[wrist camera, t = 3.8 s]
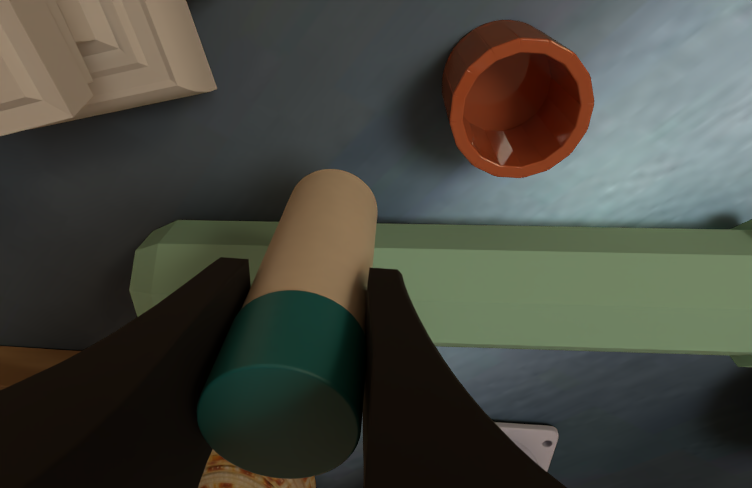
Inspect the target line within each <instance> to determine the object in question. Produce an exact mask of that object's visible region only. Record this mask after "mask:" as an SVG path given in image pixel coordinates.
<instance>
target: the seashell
mask: <svg viewBox="0 0 752 488" xmlns="http://www.w3.org/2000/svg"><path fill="white" fill-rule="evenodd" d="M198 488H316V482H315V476H312V477H307V478H298V479H281V478H272V477H267V476H262V475H258V474H255V473H251V472H249V471H246V470H243V469H241V468H239V467H237V466H235V465H233V464H232V463H230V462H228V461H227V460H225V459H224V458H222V457H221V456H220V455H218V454H217V453H216V452H215V451H214V450H213V449H212V452H211V454H210V456H209V459H208V461H207V464H206V467H205V469H204V472H203V475H202V477H201V480H200V483H199V486H198Z"/></svg>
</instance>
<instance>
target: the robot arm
mask: <svg viewBox="0 0 752 488" xmlns="http://www.w3.org/2000/svg"><path fill="white" fill-rule="evenodd" d="M250 288H251V284H250V271H249V259H240V258H226V257H220V258H219V259H217V260H216V261H214V262H213V263H212V264H210V265H209V266H208V267H206V268H205V269H204V270H202V271H201V272H200V273H198V274H197V275H196V276H194V277H193V278H192V279H190V280H189V281H188V282H186V283H185V284H184V285H182V286H181V287H180V288H178V289H177V290H176V291H174V292H173V293H172V294H170V295H169V296H167V297H166V298H165V299H163V300H162V301H161V302H159V303H158V304H156V305H155V306H154V307H152V308H150V309H149V310H147V311H146V312H144V313H143V314H141V315H140V316H138V317H137V318H135V319H134V320H132V321H131V322H129V323H128V324H126V325H125V326H123V327H122V328H120V329H119V330H117V331H116V332H114V333H112V334H111V335H109V336H107V337H106V338H104V339H102V340H101V341H99V342H97V343H95V344H94V345H92V346H90V347H88V348H86V349H85V350H83V351H81V352H79V353H77V354H75V355H73V356H72V357H70V358H68V359H66V360H64V361H62V362H60V363H58V364H56V365H54V366H52V367H50V368H48V369H45V370H43V371H41V372H39V373H37V374H35V375H33V376H30V377H28V378H26V379H24V380H22V381H20V382H18V383H15V384H13V385H11V386H9V387H7V388H5V389H2V390H0V488H198V486H199V483H200V480H201V477H202V475H203V472H204V469H205V467H206V464H207V461H208V459H209V456H210V454H211V452H212V448H211V447H210V446H209V444H208V443H207V442H206V440H205V439H204V437H203V436H202V434H201V431H200V429H199V426H198V422H197V414H196V410H197V403H198V400H199V397H200V394H201V392H202V390H203V388H204V385H205V383H206V381H207V379H208V376H209V374H210V372H211V370H212V367H213V365H214V363H215V361H216V358H217V356H218V354H219V352H220V349H221V347H222V345H223V343H224V340H225V338H226V336H227V334H228V331H229V329H230V327H231V324H232V322H233V320H234V318H235V317H236V315H237V314H238V313H239V311H240V310H241V308H242V306H243V304H244V301H245V299H246V297H247V295H248V292H249V290H250ZM365 337H366V376H365V388H364V400H363V459H364V488H567V487H565V486H564V485H563V484H562V483H560V482H559V481H558V480H556V479H555V478H554V477H553V476H551V475H550V474H549V473H548V472H547V471H548V468H549V465H550V462H551V459H552V456H553V453H554V450H555V446H556V443H557V440H558V437H559V435H558V432H557V429H556V428H555V427H553V426H547V425H532V424H517V423H501V422H493V420H492V419H491V418H490V417H489V416H488V415H487V414H486V413H485V412H484V411H483V410H482V409H481V407H480V406H479V405H478V404H477V403H476V402H475V400H474V399H473V398H472V397H471V396H470V394H469V393H468V392H467V391H466V389H465V388H464V387H463V386H462V384H461V383H460V382H459V380H458V379H457V378H456V376H455V375H454V374H453V372H452V371H451V369H450V368H449V367H448V365H447V364H446V362H445V361H444V359H443V358H442V356H441V355H440V353H439V351H438V350H437V348H436V347H435V345H434V343H433V342H432V340H431V338H430V337H429V335H428V333H427V331H426V329H425V328H424V326H423V324H422V322H421V320H420V318H419V316H418V314H417V312H416V310H415V308H414V306H413V304H412V301H411V299H410V297H409V294H408V292H407V289H406V287H405V284H404V280H403V276H402V274H401V273H400V271H399V270H398V269H384V268H369V275H368V284H367V301H366V318H365Z"/></svg>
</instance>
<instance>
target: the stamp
mask: <svg viewBox="0 0 752 488" xmlns="http://www.w3.org/2000/svg"><path fill="white" fill-rule="evenodd" d="M216 89H217V87H216V84H215V81H214V78H213V75H212V73H211V70H210V67H209V64H208V61H207V58H206V56H205V53H204V50H203V47H202V44H201V41H200V39H199V36H198V33H197V30H196V27H195V24H194V22H193V19H192V16H191V13H190V10H189V7H188V5H187V2H186V0H0V136H3V135H7V134H11V133H15V132H19V131H23V130H27V129H35V128H39V127H44V126H49V125H54V124H59V123H63V122H68V121H73V120H78V119H82V118H87V117H92V116H97V115H101V114H106V113H111V112H116V111H121V110H125V109H130V108H135V107H140V106H144V105H149V104H154V103H159V102H163V101H168V100H173V99H178V98H183V97H187V96H192V95H197V94H202V93H206V92H210V91H213V90H216Z"/></svg>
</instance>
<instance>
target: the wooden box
mask: <svg viewBox="0 0 752 488" xmlns="http://www.w3.org/2000/svg"><path fill="white" fill-rule="evenodd" d="M79 352H81V351H73V350H57V349H42V348H26V347H11V346H0V390H2V389H5V388H7V387H9V386H11V385H13V384H15V383H18V382H20V381H22V380H24V379H26V378H28V377H30V376H33V375H35V374H37V373H39V372H41V371H43V370H45V369H48V368H50V367H52V366H54V365H56V364H58V363H60V362H62V361H64V360H66V359H68V358H70V357H72V356H73V355H75V354H77V353H79Z"/></svg>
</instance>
